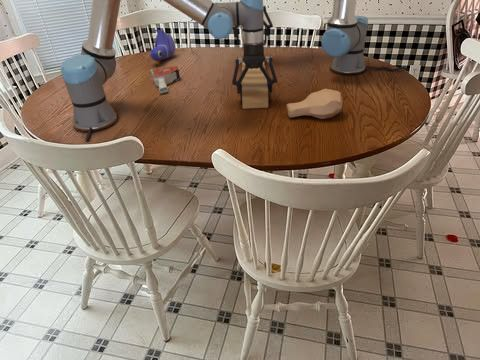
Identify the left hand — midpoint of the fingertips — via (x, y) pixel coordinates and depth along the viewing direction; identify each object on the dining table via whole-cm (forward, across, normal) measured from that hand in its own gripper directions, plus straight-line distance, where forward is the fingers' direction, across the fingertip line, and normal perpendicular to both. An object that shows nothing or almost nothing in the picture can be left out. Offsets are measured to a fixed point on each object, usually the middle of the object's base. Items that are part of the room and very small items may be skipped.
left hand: (255, 100), depth 141 cm
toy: (0, +48, -58) cm, 75 cm away
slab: (0, 0, -23) cm, 23 cm away
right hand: (-9, 0, -46) cm, 47 cm away
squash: (0, -21, +15) cm, 26 cm away
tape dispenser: (0, +41, -23) cm, 47 cm away
